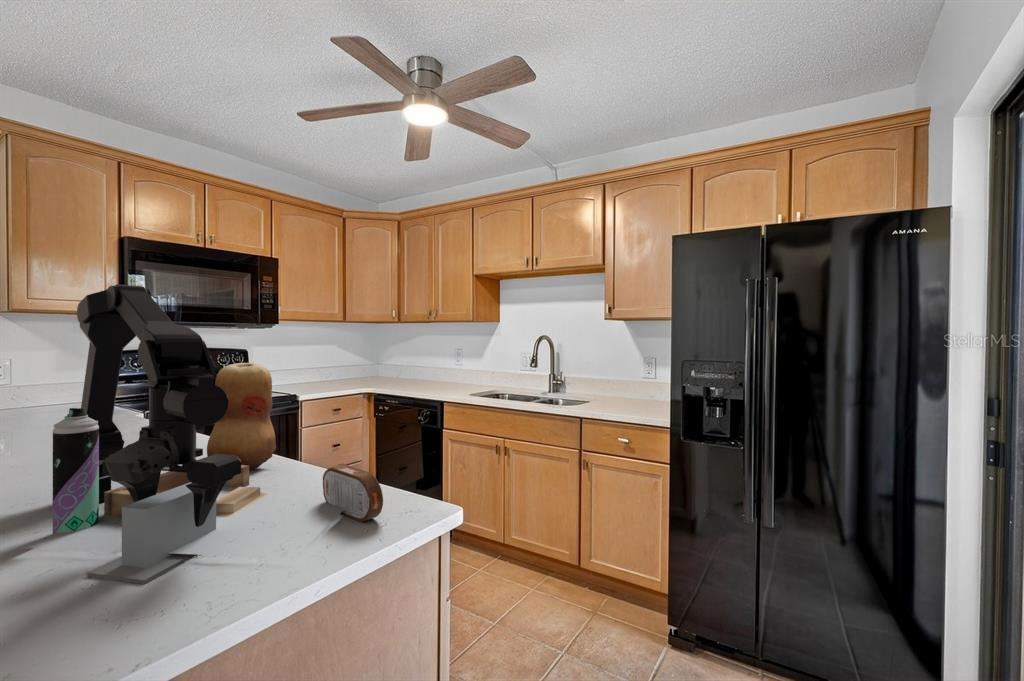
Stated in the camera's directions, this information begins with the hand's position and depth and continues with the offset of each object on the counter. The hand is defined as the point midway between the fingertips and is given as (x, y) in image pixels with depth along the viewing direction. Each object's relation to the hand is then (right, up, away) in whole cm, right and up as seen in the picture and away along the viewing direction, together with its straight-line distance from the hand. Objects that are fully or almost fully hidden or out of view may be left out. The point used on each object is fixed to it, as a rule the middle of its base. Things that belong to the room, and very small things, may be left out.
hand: (172, 522), depth 71 cm
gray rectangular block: (0, -4, 0) cm, 4 cm away
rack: (-11, -4, +19) cm, 22 cm away
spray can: (-20, -4, +6) cm, 21 cm away
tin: (+21, -5, +15) cm, 27 cm away
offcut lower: (0, -5, +17) cm, 18 cm away
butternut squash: (-12, -4, +40) cm, 42 cm away
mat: (0, -4, 0) cm, 4 cm away
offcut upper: (0, -3, +17) cm, 17 cm away
